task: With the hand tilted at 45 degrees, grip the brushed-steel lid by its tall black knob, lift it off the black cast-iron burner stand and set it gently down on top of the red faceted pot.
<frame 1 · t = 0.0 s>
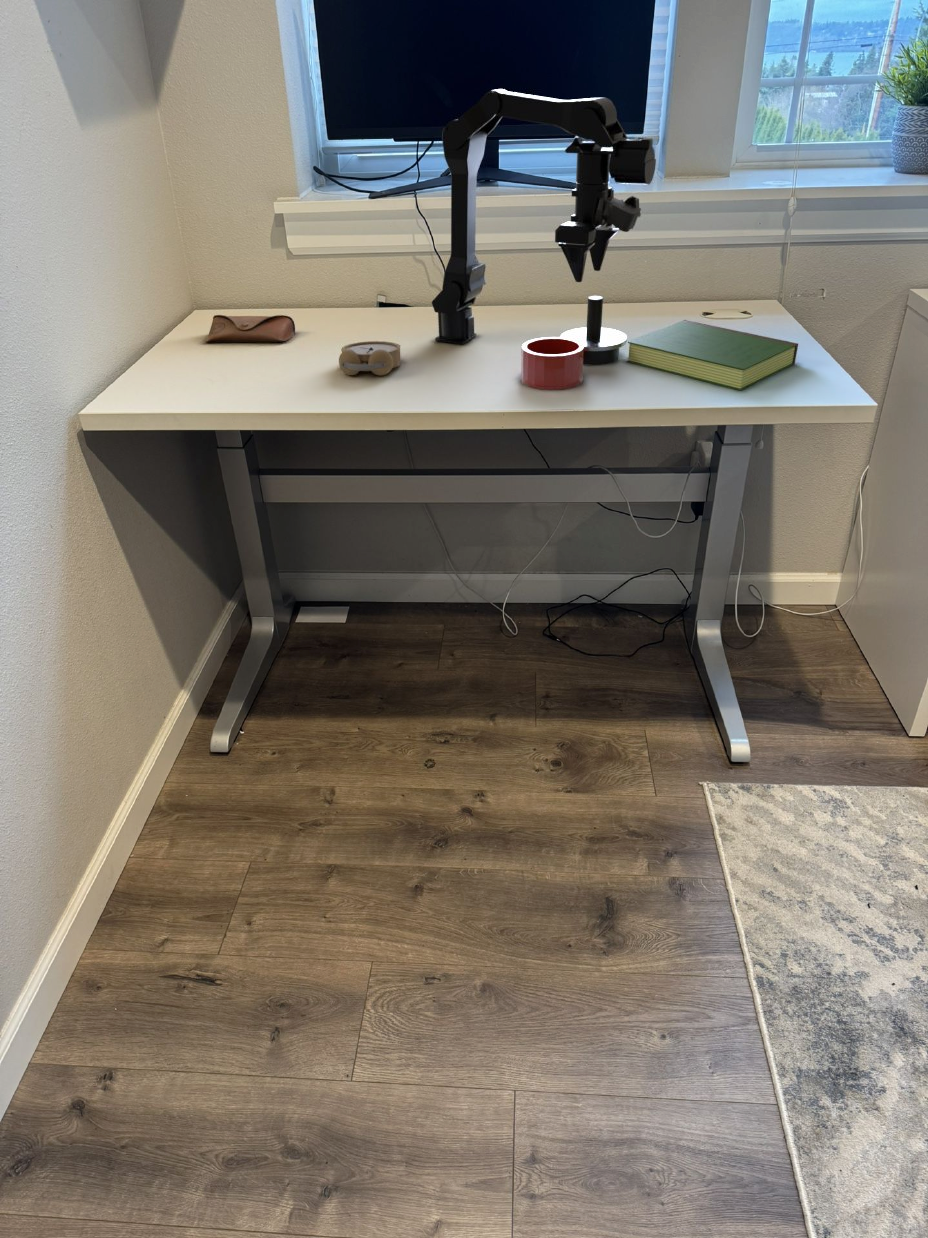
hand: (588, 276, 161), 15 cm above the table, tool pointing down, fingers open, 9 cm apart
hardcover book: (707, 363, 163), on the table
red faceted pot: (551, 379, 158), on the table
lid: (593, 340, 167), point 3 cm above the table, touching burner stand
alarm clock: (370, 369, 166), on the table
sunglasses case: (250, 338, 185), on the table
burner stand: (592, 356, 168), on the table
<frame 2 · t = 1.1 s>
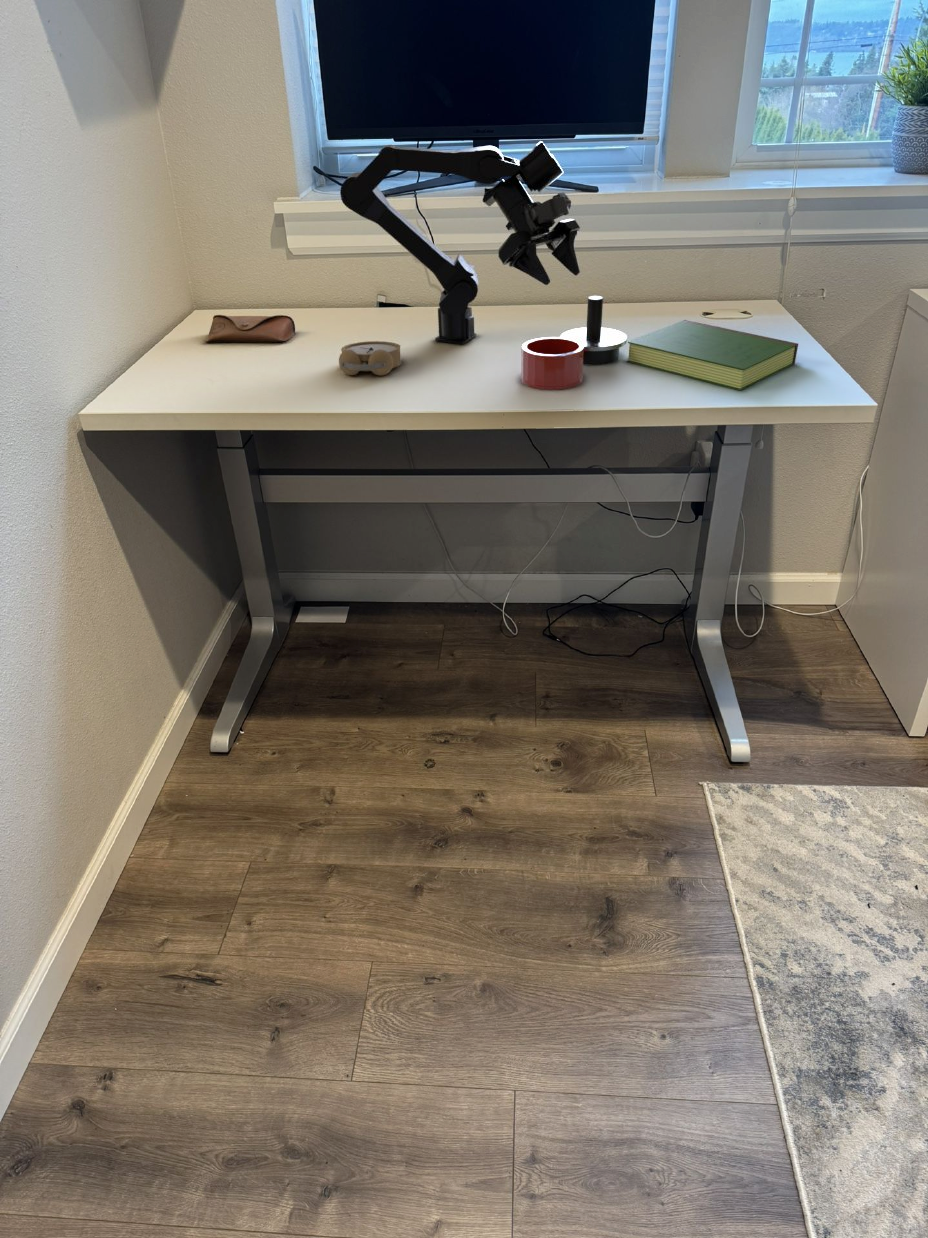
hand: (563, 278, 165), 13 cm above the table, tool tilted 45°, fingers open, 9 cm apart
nothing on the table moved.
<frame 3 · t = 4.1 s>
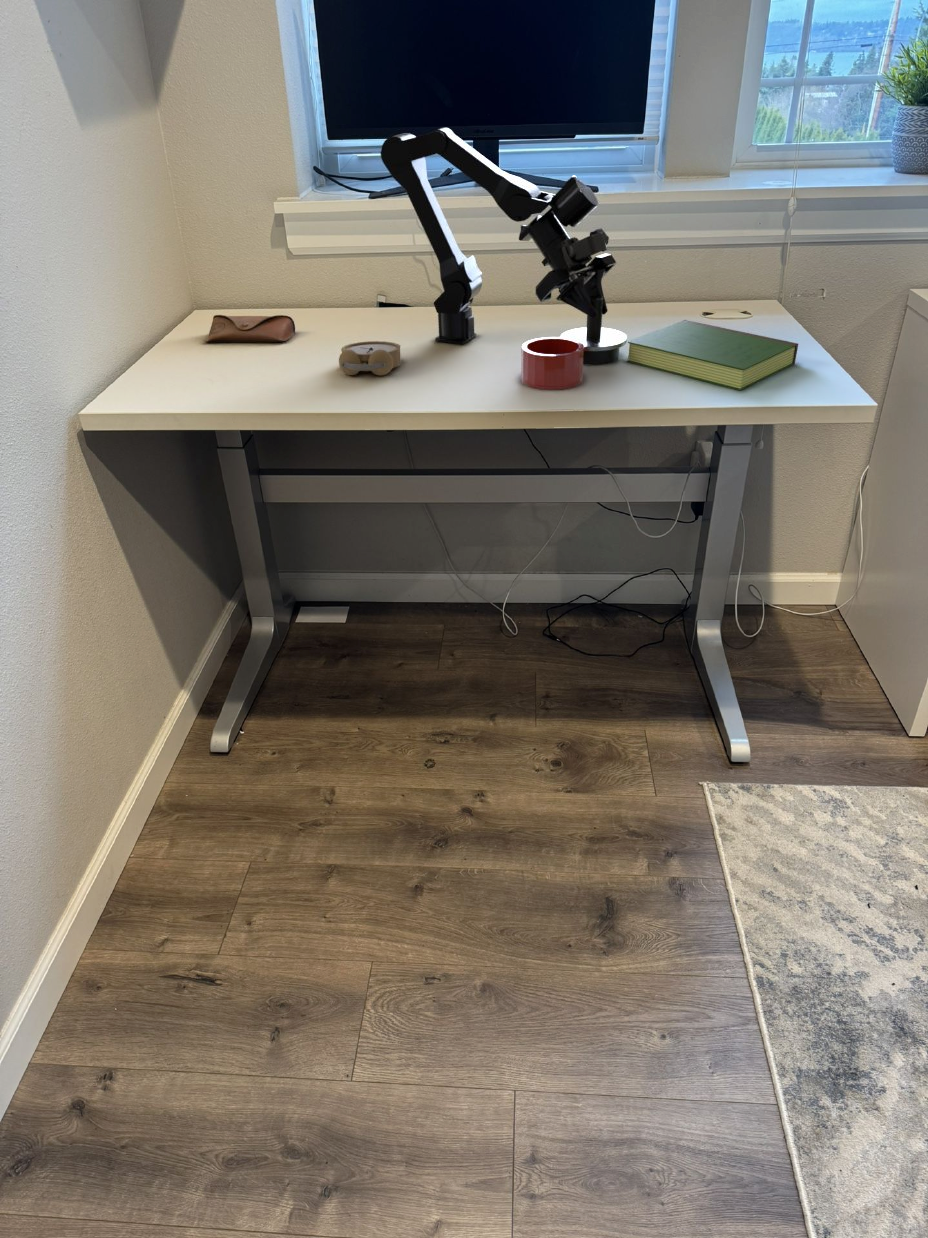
hand: (600, 314, 163), 8 cm above the table, tool tilted 45°, fingers closed on lid, 3 cm apart
lid: (593, 340, 167), point 3 cm above the table, touching burner stand, gripper
everything else where it was.
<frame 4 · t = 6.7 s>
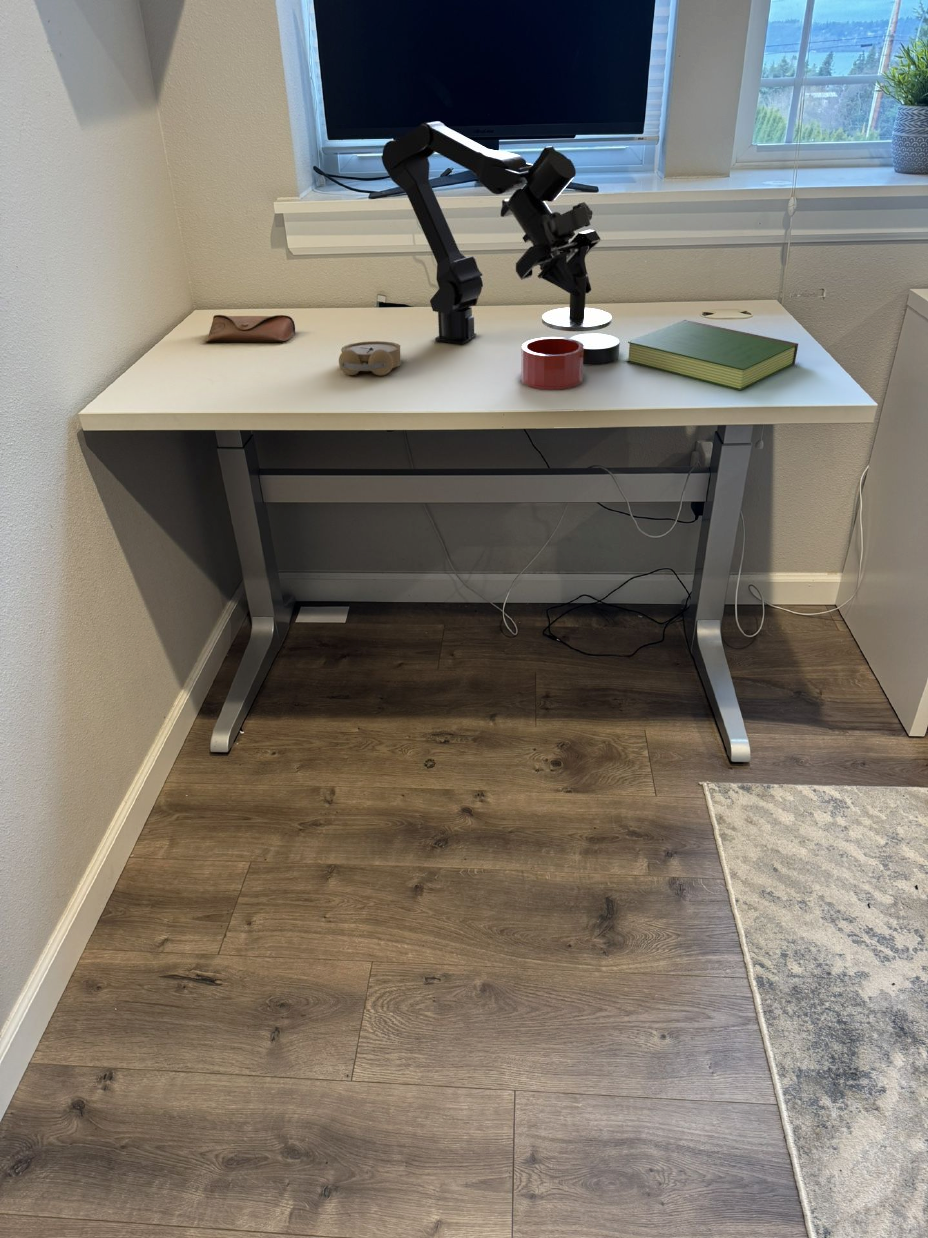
hand: (584, 293, 156), 13 cm above the table, tool tilted 45°, fingers closed on lid, 3 cm apart
lid: (576, 321, 159), point 8 cm above the table, touching gripper
everything else where it was.
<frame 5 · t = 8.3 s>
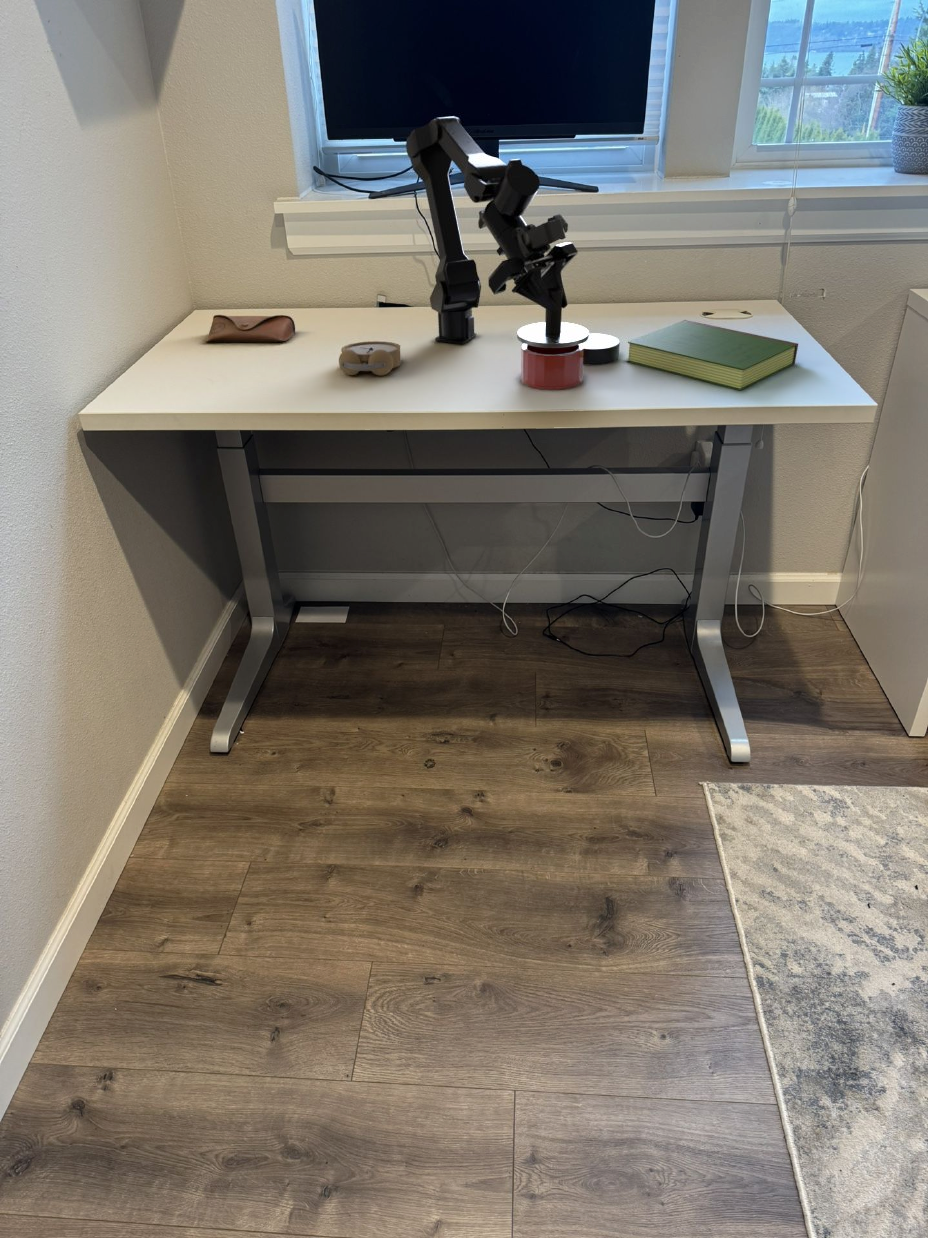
hand: (560, 308, 150), 13 cm above the table, tool tilted 45°, fingers closed on lid, 3 cm apart
lid: (552, 336, 154), point 8 cm above the table, touching gripper
everything else where it was.
when the fingers open (11 cm above the table, at t = 9.2 s): lid stays where it is, resting on red faceted pot.
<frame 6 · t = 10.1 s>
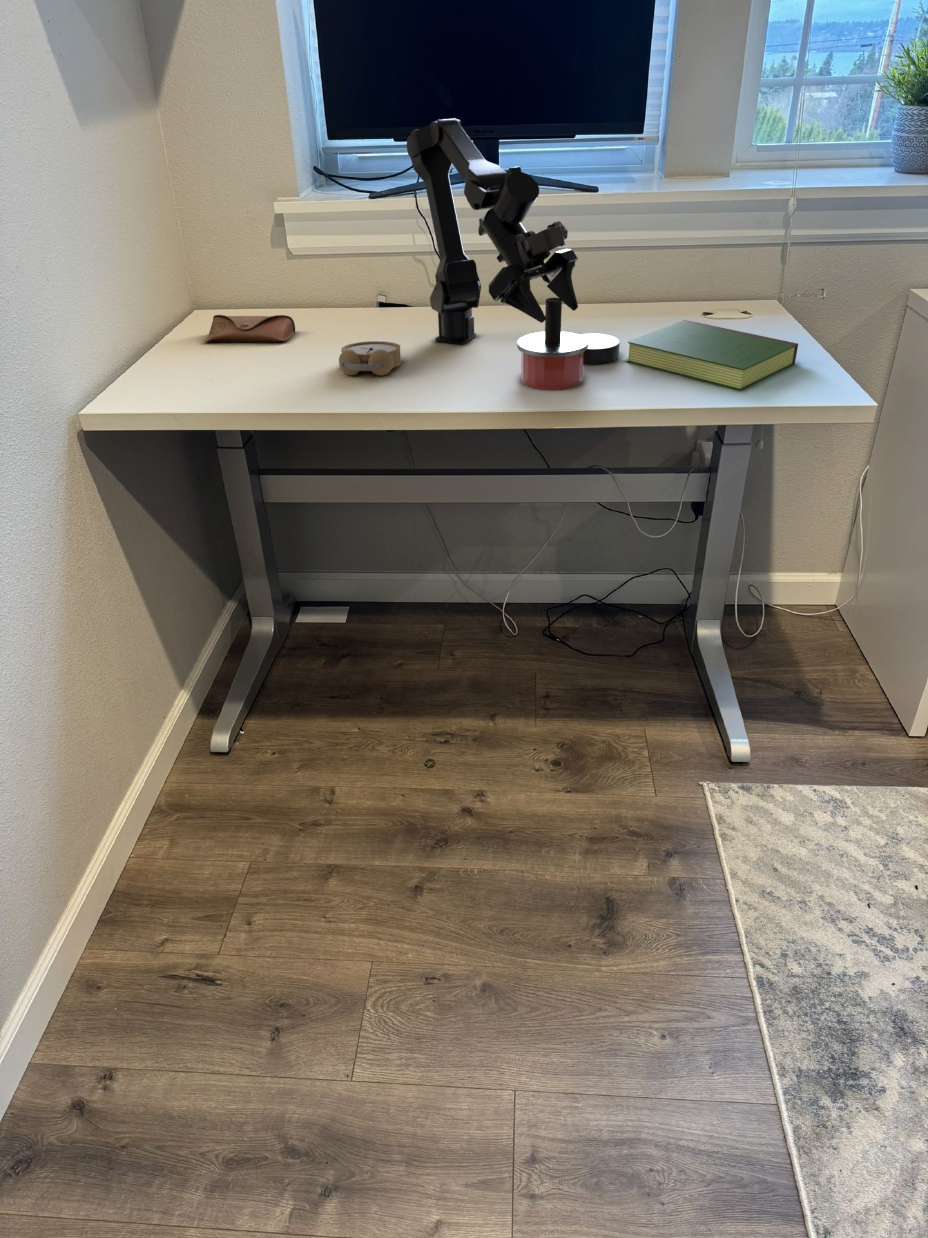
hand: (560, 314, 151), 12 cm above the table, tool tilted 45°, fingers open, 9 cm apart
lid: (552, 346, 155), point 6 cm above the table, touching red faceted pot
everything else where it was.
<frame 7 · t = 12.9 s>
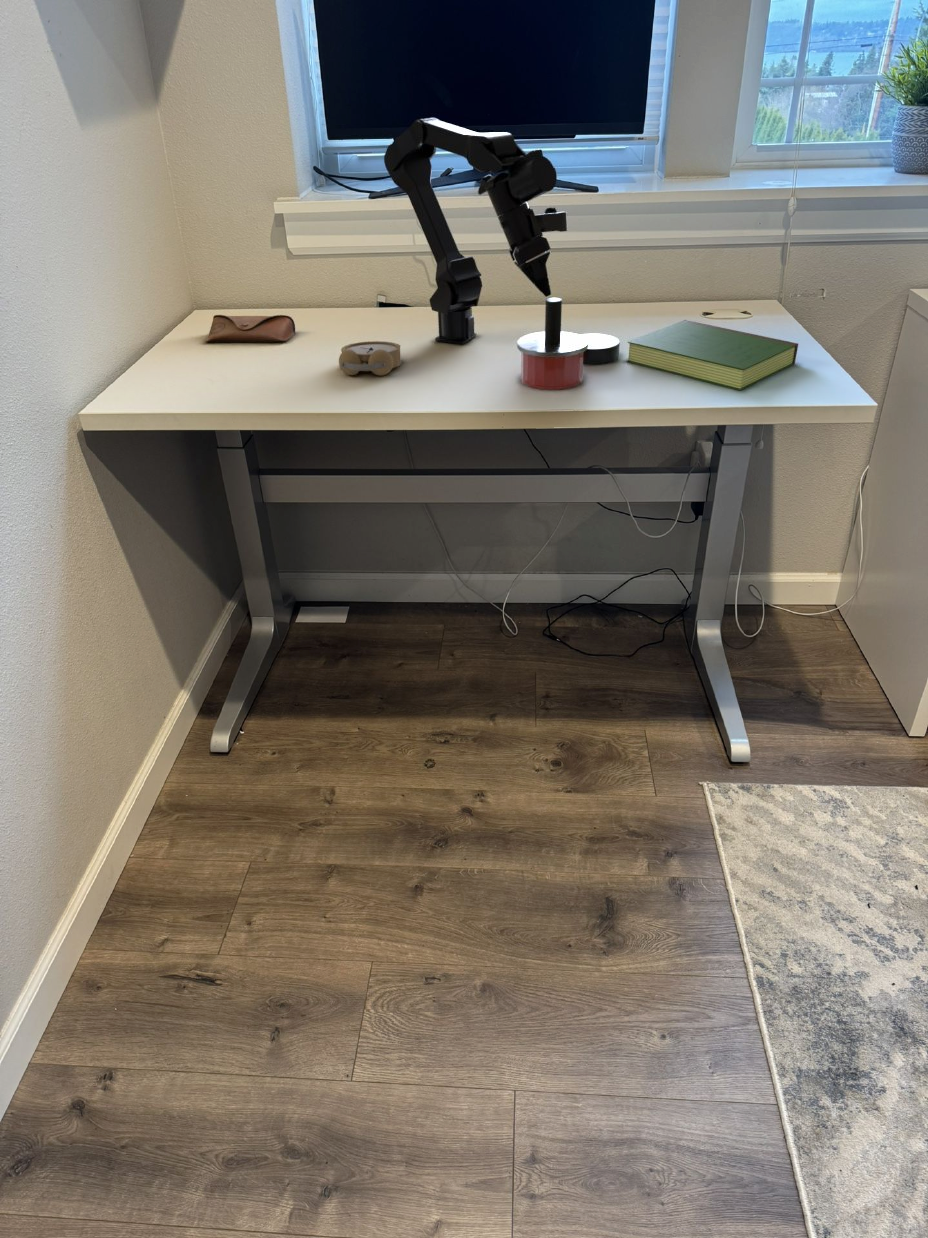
hand: (546, 293, 162), 12 cm above the table, tool tilted 25°, fingers open, 9 cm apart
nothing on the table moved.
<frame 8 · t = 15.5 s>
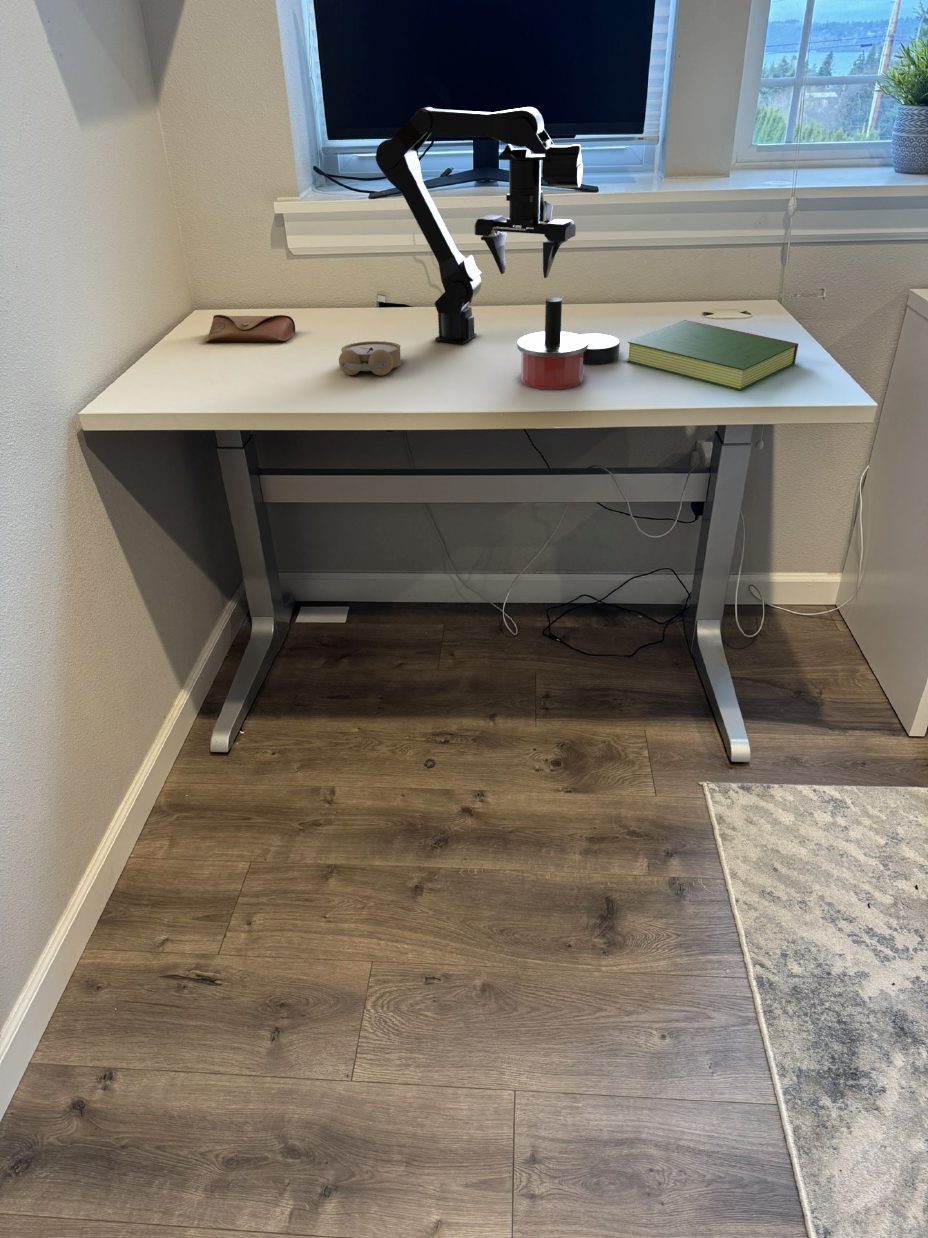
hand: (524, 275, 170), 13 cm above the table, tool pointing down, fingers open, 9 cm apart
nothing on the table moved.
at the end: lid 0.1 cm off-centre on the red faceted pot, point 6.0 cm above the red faceted pot's base; lid tilted 0°; the gripper is holding nothing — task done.
